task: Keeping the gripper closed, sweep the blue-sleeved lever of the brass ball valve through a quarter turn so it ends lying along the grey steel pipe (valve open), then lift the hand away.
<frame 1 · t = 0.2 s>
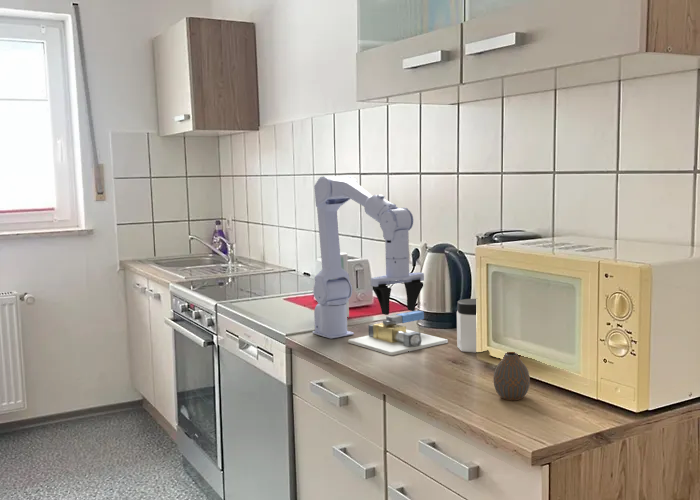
hand: (398, 312, 171), 10 cm above the worktop, fingers open, 7 cm apart
valve: (389, 341, 183), resting on board
jar: (474, 349, 173), on the worktop
lever: (402, 318, 185), point 6 cm above the worktop, hinge at 90.0°
board: (397, 342, 182), on the worktop
vase: (511, 398, 136), on the worktop
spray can: (339, 317, 217), on the worktop
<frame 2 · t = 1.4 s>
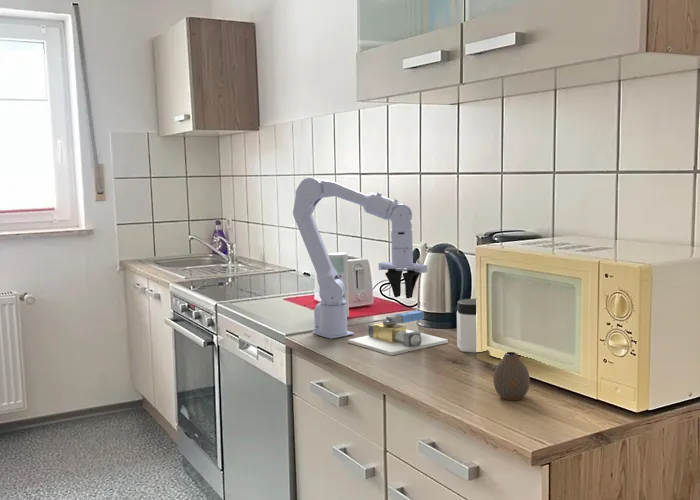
hand: (403, 297, 190), 10 cm above the worktop, fingers open, 3 cm apart
nothing on the worktop moved.
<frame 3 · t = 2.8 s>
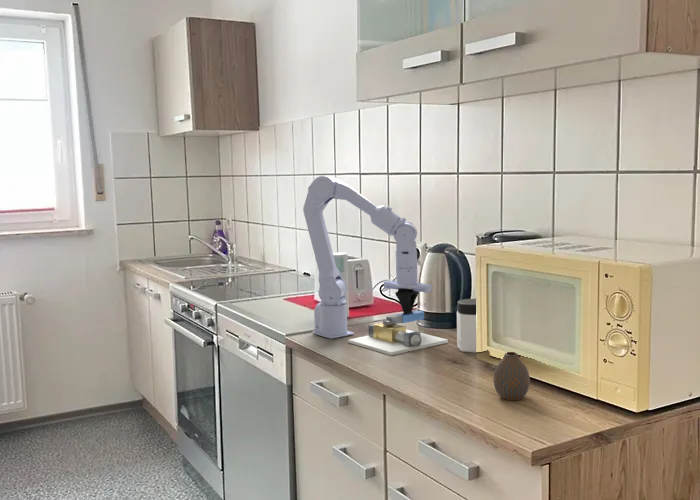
hand: (407, 316, 189), 5 cm above the worktop, fingers closed, pressing on lever
lever: (402, 318, 185), point 6 cm above the worktop, hinge at 89.3°, touching gripper
everything else where it was.
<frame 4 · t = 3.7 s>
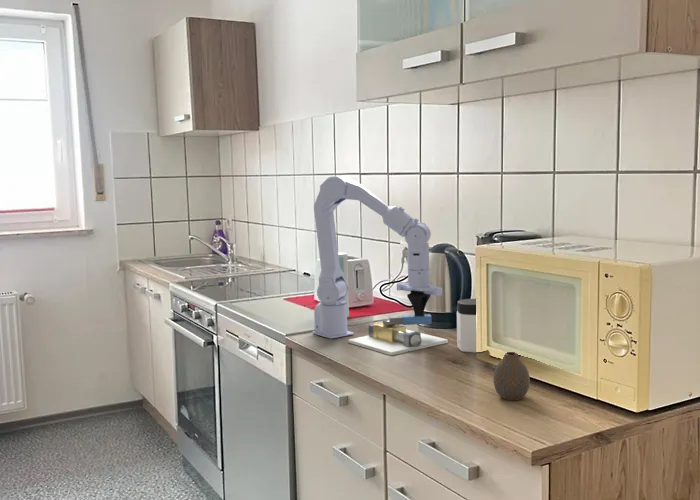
hand: (419, 319, 185), 5 cm above the worktop, fingers closed, pressing on lever
lever: (406, 319, 183), point 6 cm above the worktop, hinge at 56.7°, touching gripper
everything else where it was.
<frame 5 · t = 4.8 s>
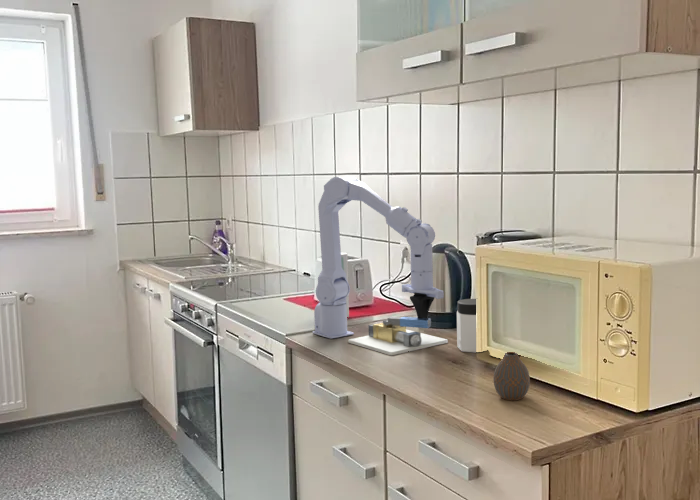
hand: (422, 322, 181), 5 cm above the worktop, fingers closed, pressing on lever
lever: (405, 321, 181), point 6 cm above the worktop, hinge at 29.2°, touching gripper
everything else where it was.
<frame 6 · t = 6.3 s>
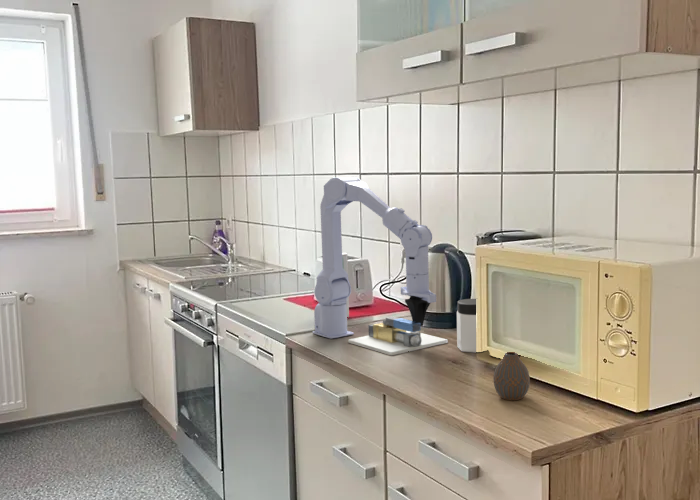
hand: (418, 326, 177), 5 cm above the worktop, fingers closed
lever: (400, 323, 179), point 6 cm above the worktop, hinge at -1.1°, touching gripper
everything else where it was.
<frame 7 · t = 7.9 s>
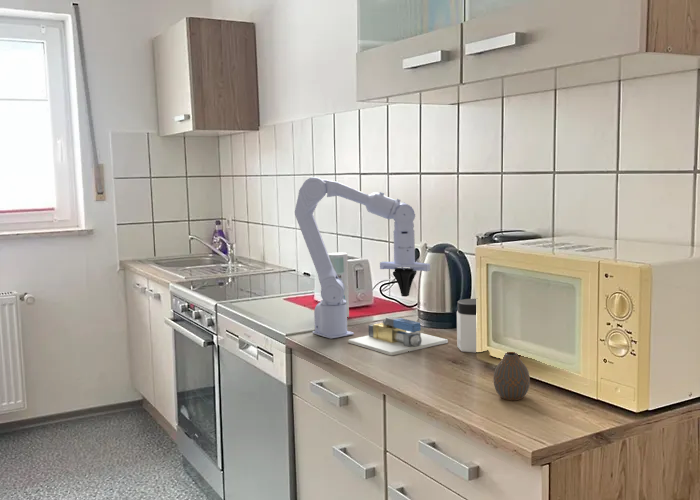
hand: (405, 295, 192), 10 cm above the worktop, fingers closed
lever: (400, 323, 179), point 6 cm above the worktop, hinge at -1.1°
everything else where it was.
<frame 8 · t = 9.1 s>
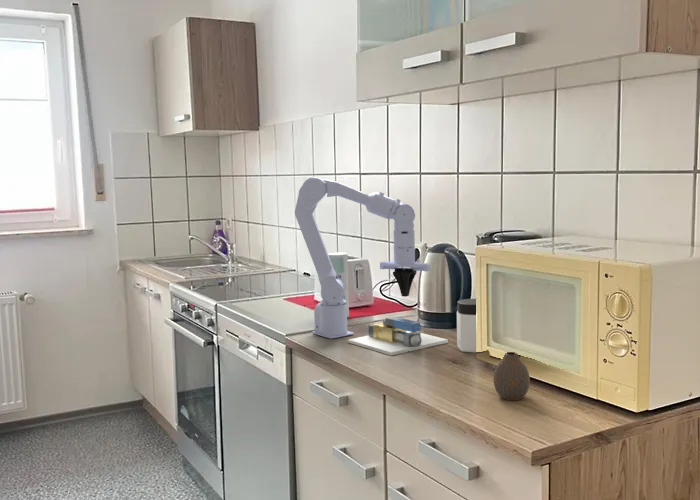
hand: (405, 295, 192), 10 cm above the worktop, fingers closed
nothing on the worktop moved.
at the end: lever at -1° (first picture: +90°) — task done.
